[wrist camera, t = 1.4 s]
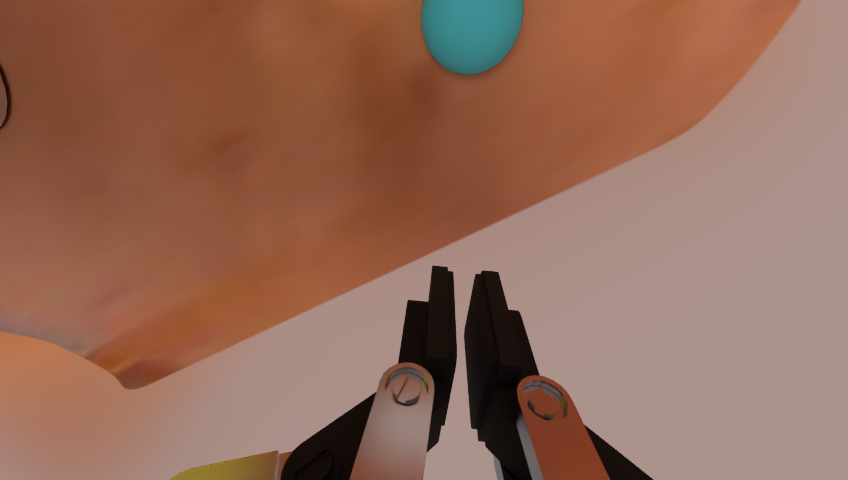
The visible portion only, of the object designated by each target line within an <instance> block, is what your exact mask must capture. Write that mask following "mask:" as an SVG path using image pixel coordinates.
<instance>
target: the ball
mask: <svg viewBox="0 0 848 480" xmlns="http://www.w3.org/2000/svg"><path fill="white" fill-rule="evenodd" d="M523 6H524V4H523V0H423V5H422V13H421V23H422V31H423V36H424V39H425V42H426V45H427V47H428V49H429V51H430V52H431V54H432V56H433V57H434V58H435V59H436V61H437V62H438V63H440V64H441V65H442V66H443V67H445V68H446V69H448V70H450V71H452V72H454V73H457V74H463V75H473V74H478V73H482V72H484V71H487V70H489V69H490V68H492V67H494V66H495V65H497V64H498V63H499V62H500V61H501V60H502V59H503V58H504V57H505V56H506V55H507V54H508V53H509V51H510V50H511V48H512V47H513V45H514V43H515V41H516V39H517V37H518V34H519V31H520V28H521V24H522V19H523Z"/></svg>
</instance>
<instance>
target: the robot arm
mask: <svg viewBox="0 0 848 480" xmlns="http://www.w3.org/2000/svg"><path fill="white" fill-rule="evenodd" d="M6 111H7V97H6V89H5V86H4V83H3V80H2V77H1V74H0V127H1V126H2V124H3V121H4V119H5V117H6ZM455 323H456V322H455V300H454V279H453V272H451V271H448V268H447V267H440V266H432V274H431V283H430V292H429V301H428V302H424V301H413V300H408V302H407V308H406V315H405V322H404V328H403V335H402V341H401V349H400V355H399V361H398V364H396V365H394V366H392V367H390V368H389V369H388V370H387V371H386V372H385V373H384V374H383V376H382V378H381V380H380V382H379V386H378V389H377V392H375V393H374V394H373V395H371V396H370V397H368V398H367V399H365V400H364V401H362V402H361V403H359V404H358V405H357V406H355V407H354V408H352V409H351V410H349V411H348V412H346V413H345V414H344V415H342V416H341V417H339V418H338V419H336V420H335V421H333V422H332V423H330V424H329V425H328V426H326V427H325V428H323V429H322V430H320V431H319V432H317V433H316V434H314V435H313V436H311V437H310V438H309V439H307V440H306V441H304V442H303V443H302V444H300V445H299V446H298V447H297V448H296V449H295V450H294V451H292V452H287V453H282V454H279V453H278V451H273V452H268V453H263V454H259V455H253V456H249V457H244V458H239V459H234V460H230V461H224V462H220V463H214V464H210V465H205V466H200V467H195V468H191V469H189V470H186V471H183V472H181V473H179V474H177V475H176V476H174V477H173V478H171V479H170V480H423V475H424V467H425V460H426V453H427V452H428V451H429V450H430V449H431V448H432V447H433V446H434V445H435V444H437V443H438V441H439V436H440V431H441V425H442V426H444V425H445V419H446V414H447V409H448V404H449V399H450V393H451V388H452V383H453V378H454V373H455V368H456V359H457V344H456V324H455ZM464 341H465V354H466V367H467V380H468V394H469V407H470V419H471V428H472V429H477V432H478V441H483V442H485V445H486V447H487V448H488V450H490V452H491V453H492V454H493V455H494V466H495V470H496V475H497V480H653V479H652V478H651V477H649V476H648V475H647V474H646V473H644V472H643V471H642V470H641V469H639V468H638V467H637V466H636V465H634V464H633V463H632V462H631V461H629V460H628V459H627V458H626V457H624V456H623V455H622V454H620V453H619V452H618V451H617V450H615V449H614V448H613V447H612V446H610V445H609V444H608V443H607V442H605V441H604V440H603V439H602V438H600V437H599V436H598V435H596V434H595V433H594V432H593V431H592V430H590V429H589V428H588V427H587V426H585V425H584V424H583V422H582V420H581V418H580V416H579V413H578V411H577V409H576V407H575V405H574V403H573V401H572V399H571V397H570V396H569V394H568V393H567V392H566V391H565V389H563V388H562V386H561V385H559V384H558V383H556V382H555V381H553V380H551V379H549V378H546V377H543V376H539V372H538V369H537V366H536V363H535V360H534V356H533V353H532V350H531V346H530V343H529V340H528V337H527V334H526V330H525V327H524V324H523V321H522V317H521V315H520V312H519V311H515V310H508V307H507V303H506V299H505V296H504V292H503V288H502V284H501V281H500V277H499V273H498V272H493V271H482V272H481V274H476V275H475V279H474V284H473V289H472V295H471V300H470V305H469V310H468V315H467V320H466V325H465V333H464Z"/></svg>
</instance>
